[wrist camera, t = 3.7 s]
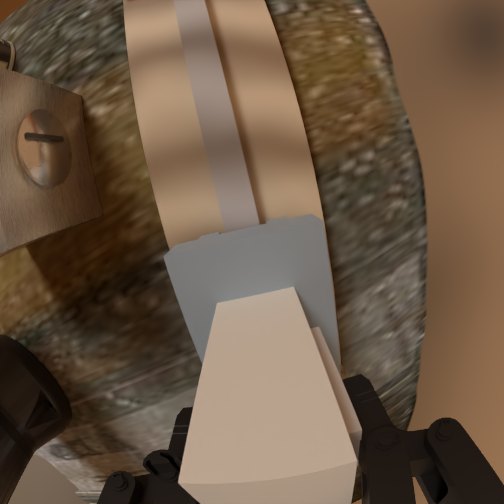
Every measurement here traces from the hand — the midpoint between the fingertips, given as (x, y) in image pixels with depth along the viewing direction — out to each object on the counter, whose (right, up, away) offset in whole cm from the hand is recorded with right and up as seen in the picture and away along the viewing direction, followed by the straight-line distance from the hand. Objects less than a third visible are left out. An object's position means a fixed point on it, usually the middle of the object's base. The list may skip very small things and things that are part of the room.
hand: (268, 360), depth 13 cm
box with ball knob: (-18, +12, +4) cm, 22 cm away
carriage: (0, +1, +5) cm, 5 cm away
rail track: (-2, +11, +4) cm, 12 cm away
